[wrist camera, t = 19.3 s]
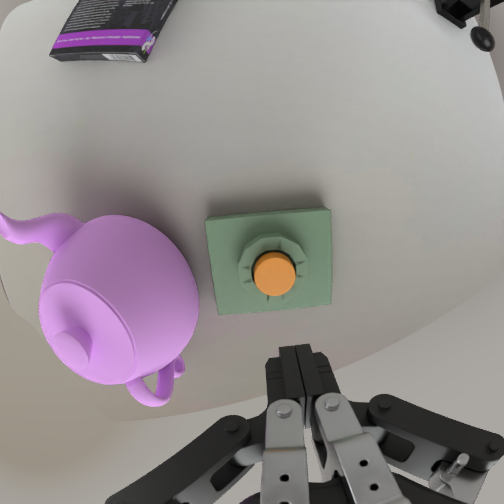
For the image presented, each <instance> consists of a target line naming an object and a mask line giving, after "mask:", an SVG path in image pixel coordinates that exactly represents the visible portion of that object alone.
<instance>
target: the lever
mask: <svg viewBox="0 0 504 504" xmlns="http://www.w3.org/2000/svg"><path fill="white" fill-rule="evenodd" d="M489 19H490V0H480V19H479V26H477V27H474V28H473V29H472V30H471V33H470V36H471V39H472V42H473V43H474V45H475V46H476V47H477V48H479V49H480V50H482V51H485V52H490V51H492V50H493V49H494V47H495V41H494V38H493V36H492V34H491V33H490V32H489Z"/></svg>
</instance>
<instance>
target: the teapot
mask: <svg viewBox="0 0 504 504" xmlns="http://www.w3.org/2000/svg"><path fill="white" fill-rule="evenodd" d="M0 234H1V235H2V236H3V237H4V238H5V239H6V240H8V241H10V242H13V243H16V244H27V243H32V242H38V243H42V244H43V245H45V246H47V247H48V248H49V249H50V250H52V251H53V252H54V255H53V257H52V258H51V260H50V263H49V265H48V267H47V270H46V273H45V276H44V280H43V283H42V287H41V292H40V299H39V318H40V323H41V327H42V330H43V332H44V335H45V337H46V339H47V341H48V343H49V345H50V346H51V348H52V349H53V351H54V352H55V353H56V355H57V356H58V357H59V358H60V359H61V360H62V361H63V362H64V363H65V364H66V365H67V366H68V367H69V368H70V369H71V370H73V371H74V372H76V373H77V374H78V375H80V376H82V377H84V378H86V379H88V380H90V381H93V382H96V383H100V384H106V385H114V384H121V383H125V384H126V387H127V388H128V390H129V392H130V393H131V394H132V396H133V397H134V398H135V399H136V400H138V401H139V402H140V403H142V404H144V405H147V406H152V407H155V406H161V405H163V404H165V403H167V402H168V401H169V399H170V398H171V395H172V392H173V385H174V378H177V377H180V376H181V375H182V374H183V373H184V371H185V364H184V361H183V359H182V357H181V355H180V352H181V351H182V350H183V349H184V348H185V346H186V345H187V343H188V342H189V340H190V339H191V337H192V334H193V332H194V330H195V327H196V325H197V321H198V316H199V295H198V289H197V285H196V282H195V279H194V276H193V274H192V271H191V269H190V267H189V265H188V263H187V262H186V260H185V258H184V257H183V255H182V253H181V252H180V251H179V250H178V248H177V247H176V246H175V245H174V244H173V243H172V242H171V241H170V240H169V239H168V238H167V237H166V236H165V235H164V234H163V233H161V232H160V231H159V230H158V229H156V228H154V227H153V226H151V225H149V224H148V223H146V222H143V221H141V220H139V219H136V218H133V217H129V216H123V215H107V216H101V217H98V218H95V219H93V220H90V221H88V222H86V223H83V222H81V221H80V220H78V219H77V218H75V217H73V216H70V215H68V214H64V213H52V214H48V215H44V216H41V217H38V218H34V219H31V220H25V221H19V220H14V219H11V218H9V217H7V216H6V215H4V214H3V213H1V212H0ZM157 371H159V372H158V383H157V389H156V393H155V394H153V393H152V392H151V391H150V390H149V389H148V387H147V386H146V385H145V383H144V381H143V380H142V378H143V377H146V376H149V375H151V374H153V373H155V372H157Z"/></svg>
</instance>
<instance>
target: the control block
mask: <svg viewBox="0 0 504 504" xmlns="http://www.w3.org/2000/svg"><path fill="white" fill-rule="evenodd" d="M205 229H206V236H207V244H208V251H209V258H210V265H211V272H212V278H213V285H214V291H215V297H216V304H217V310H218V315H227V314H241V313H254V312H265V311H276V310H286V309H295V308H304V307H313V306H321V305H329V304H331V297H332V232H331V210H330V209H328V208H325V207H318V208H304V209H290V210H278V211H266V212H255V213H244V214H234V215H224V216H215V217H208V218H207V219H206V220H205ZM270 252H279V253H282V254H284V255H285V256H287V257H288V258H289V259H290V261H291V263H292V265H293V267H294V269H295V274H296V278H295V282H294V285H293V286H292V288H291V289H290V290H289V291H288V292H286V293H284V294H282V295H279V296H270V295H267V294H264V293H263V292H261V291H260V290H259V289H258V287H257V286H256V284H255V280H254V267H255V264H256V262H257V260H258V259H259V258H260V257H261V256H263V255H264V254H266V253H270Z"/></svg>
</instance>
